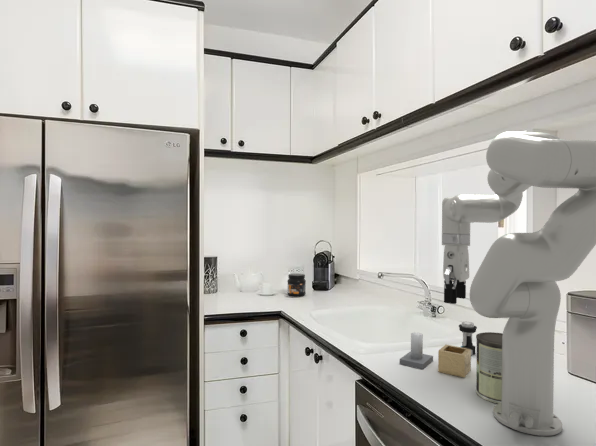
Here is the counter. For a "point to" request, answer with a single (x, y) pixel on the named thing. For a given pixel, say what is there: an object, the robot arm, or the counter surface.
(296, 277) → the supplement container
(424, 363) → the piston block
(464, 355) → the collar
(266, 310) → the counter surface
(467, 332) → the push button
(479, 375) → the coffee can
